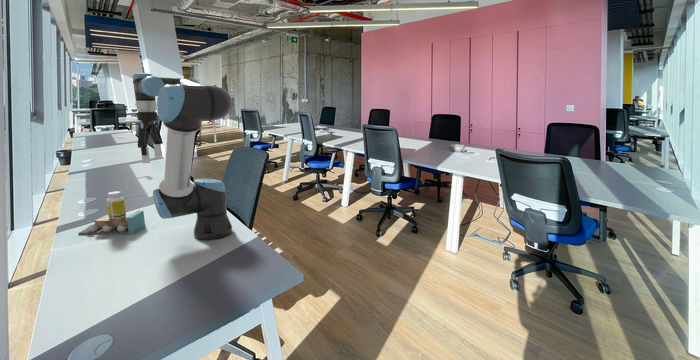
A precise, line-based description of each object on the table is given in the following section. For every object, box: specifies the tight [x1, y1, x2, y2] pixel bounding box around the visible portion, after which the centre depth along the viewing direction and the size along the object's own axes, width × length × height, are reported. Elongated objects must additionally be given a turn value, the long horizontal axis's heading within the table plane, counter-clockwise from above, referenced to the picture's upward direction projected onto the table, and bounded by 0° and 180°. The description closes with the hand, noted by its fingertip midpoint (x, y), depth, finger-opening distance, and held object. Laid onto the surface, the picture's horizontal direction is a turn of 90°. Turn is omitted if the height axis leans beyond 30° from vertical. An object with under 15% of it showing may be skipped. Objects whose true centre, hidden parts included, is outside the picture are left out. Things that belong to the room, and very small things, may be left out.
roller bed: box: [77, 210, 146, 236], centre depth 155 cm, size 22×10×7 cm, turn 94°
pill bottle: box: [106, 190, 127, 219], centre depth 153 cm, size 6×6×11 cm
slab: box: [94, 214, 132, 225], centre depth 155 cm, size 13×8×2 cm, turn 94°
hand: (152, 160), depth 157 cm, fingers open, 13 cm apart
